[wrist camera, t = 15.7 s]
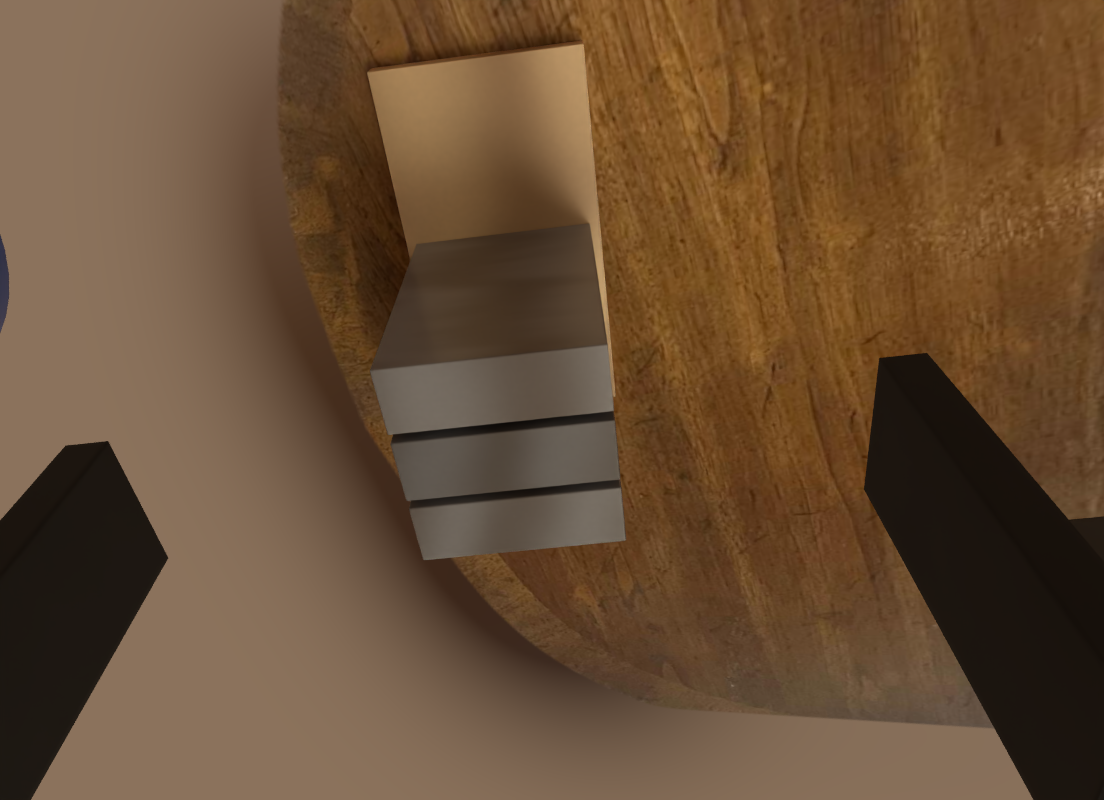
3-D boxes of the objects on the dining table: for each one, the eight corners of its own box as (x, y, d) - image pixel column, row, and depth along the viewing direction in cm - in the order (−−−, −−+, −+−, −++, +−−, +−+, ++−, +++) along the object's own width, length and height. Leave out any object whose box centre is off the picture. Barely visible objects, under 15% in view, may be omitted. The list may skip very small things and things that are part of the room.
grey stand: (447, 405, 47) (415, 575, 35) (370, 68, 37) (290, 146, 25) (614, 387, 47) (638, 553, 35) (582, 39, 37) (601, 107, 25)
